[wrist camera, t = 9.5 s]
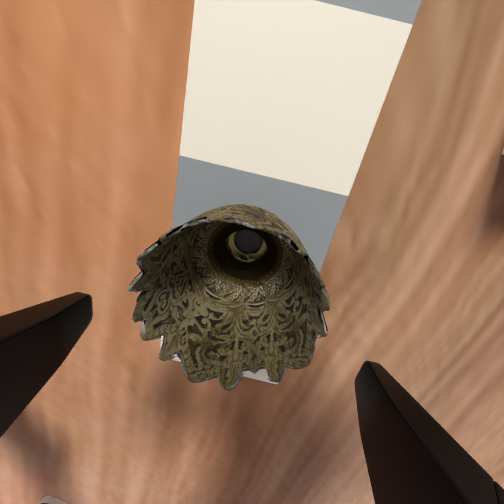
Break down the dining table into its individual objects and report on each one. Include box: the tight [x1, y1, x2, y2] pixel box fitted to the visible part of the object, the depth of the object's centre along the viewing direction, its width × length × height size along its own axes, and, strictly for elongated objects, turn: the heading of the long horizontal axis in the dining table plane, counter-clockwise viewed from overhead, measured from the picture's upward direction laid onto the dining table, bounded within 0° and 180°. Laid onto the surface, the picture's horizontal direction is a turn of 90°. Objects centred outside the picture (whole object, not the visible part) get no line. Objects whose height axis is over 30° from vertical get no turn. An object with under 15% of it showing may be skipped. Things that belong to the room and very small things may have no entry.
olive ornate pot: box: [128, 204, 330, 391], centre depth 13 cm, size 8×7×8 cm
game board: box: [160, 0, 422, 385], centre depth 16 cm, size 32×10×1 cm, turn 167°
